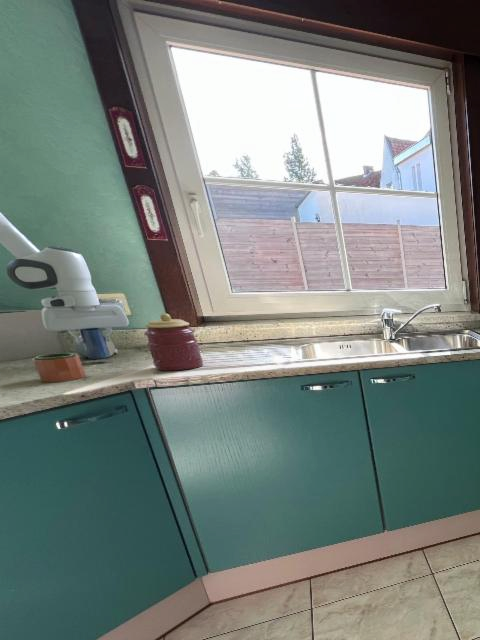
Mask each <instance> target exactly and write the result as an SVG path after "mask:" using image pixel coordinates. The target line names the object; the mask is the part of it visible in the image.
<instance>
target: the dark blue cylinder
mask: <svg viewBox="0 0 480 640" xmlns="http://www.w3.org/2000/svg"><path fill="white" fill-rule="evenodd" d="M78 332H79V334H80V335H79V336H81V337H82V338H83V341H84V346H85V349H86V352H87V355H88V357H89V358H88V359H92V360H93V359H94V360H97V359H107V358H110V357H111V356H110V353H109V350H108V347H107V344H106V341H105V338H104V336H105V335H104V331H103V328H93V329H78Z"/></svg>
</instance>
